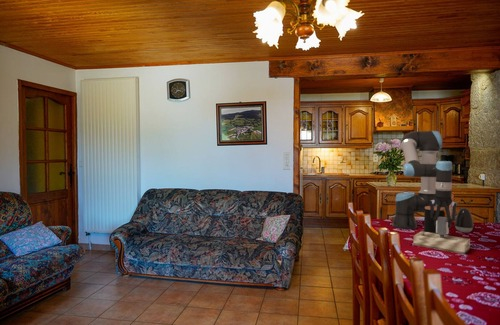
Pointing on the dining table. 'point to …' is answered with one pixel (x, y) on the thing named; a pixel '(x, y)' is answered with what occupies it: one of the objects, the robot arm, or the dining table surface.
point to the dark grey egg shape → (464, 221)
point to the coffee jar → (430, 222)
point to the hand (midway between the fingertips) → (442, 232)
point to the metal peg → (441, 226)
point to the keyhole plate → (442, 242)
